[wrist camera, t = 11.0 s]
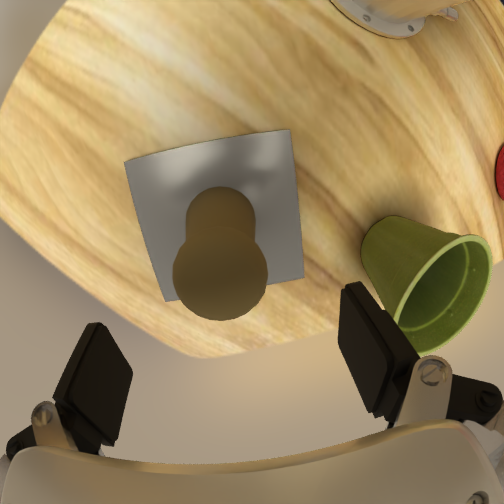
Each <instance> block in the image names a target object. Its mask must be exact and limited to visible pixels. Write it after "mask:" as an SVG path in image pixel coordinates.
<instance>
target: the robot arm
mask: <svg viewBox="0 0 504 504" xmlns="http://www.w3.org/2000/svg"><path fill="white" fill-rule="evenodd" d="M468 1H472V0H331V2H332V3H333V4H334V5H335V6H336V7H337V8H338V9H339V10H340V11H341V12H343V13H344V14H345V15H346V16H347V17H348V18H350V19H351V20H353V21H354V22H355V23H357V24H358V25H360V26H362V27H364V28H365V29H367V30H369V31H371V32H374V33H376V34H378V35H381V36H385V37H388V38H396V39H400V38H407V37H410V36H413V35H415V34H417V33H419V32H420V30H421V29H422V28H423V26H424V23H425V17H426V16H428V15H434V16H437V15H440V16H441V17H443V18H446V19H448V20H450V21H453V22H454V21H456V20H457V19H458V13H457V11H456V10H455V9H453V8H451V7H450V6H454V5H457V4H461V3H464V2H468ZM338 345H339V348H340V350H341V352H342V355H343V357H344V359H345V361H346V364H347V366H348V368H349V370H350V372H351V375H352V377H353V379H354V381H355V384H356V386H357V388H358V391H359V393H360V395H361V398H362V400H363V402H364V405H365V407H366V409H367V411H368V413H371V412H372V413H373V415H374V417H375V418H378V417H381V416H383V415H384V418H385V420H386V421H388V423H387V426H386V428H385V430H384V431H381V432H378V433H375V434H371V435H368V436H365V437H362V438H359V439H356V440H352V441H349V442H345V443H342V444H338V445H334V446H330V447H326V448H322V449H318V450H314V451H310V452H305V453H301V454H295V455H290V456H285V457H278V458H272V459H265V460H257V461H248V462H237V463H223V464H165V463H150V462H139V461H130V460H122V459H115V458H110V457H105V455H104V453H103V452H102V450H101V448H100V447H101V444H103V445H106V446H112V447H114V443H115V441H116V440H117V439H118V435H119V431H120V426H121V422H122V417H123V413H124V409H125V404H126V400H127V396H128V392H129V388H130V384H131V381H132V376H133V371H132V368H131V367H130V365H129V363H128V362H127V360H126V359H125V357H124V356H123V354H122V352H121V351H120V349H119V347H118V346H117V344H116V342H115V341H114V339H113V337H112V335H111V334H110V332H109V330H108V328H107V327H106V326H104V325H103V324H102V323H100V322H97V323H89V324H88V325H87V326H86V328H85V330H84V332H83V333H82V335H81V337H80V339H79V341H78V343H77V345H76V347H75V349H74V351H73V353H72V355H71V357H70V359H69V361H68V363H67V365H66V368H65V370H64V372H63V374H62V376H61V378H60V381H59V383H58V385H57V387H56V390H55V392H54V394H53V397H52V398H53V399H54V400H55V401H56V402H55V405H54V404H53V403H52V402H50V401H43V402H41V403H39V404H38V405H37V406H36V407H35V408H34V410H33V412H32V415H31V423H32V425H30V426H29V427H27V428H26V429H24V430H23V431H21V432H20V433H18V434H16V435H15V436H14V437H12V438H11V439H10V440H9V441H8V443H7V447H6V454H7V455H5V454H4V455H3V456H2V457H1V459H0V504H504V400H503V398H502V394H501V392H500V391H499V389H498V388H497V387H496V386H495V385H493V384H491V383H487V382H483V381H479V380H475V379H471V378H466V377H462V376H458V375H455V374H452V369H451V366H450V365H449V363H448V362H447V361H446V360H445V359H443V358H442V357H438V356H433V355H429V356H424V357H422V358H420V356H419V355H418V353H417V352H416V350H415V349H414V347H413V346H412V345H411V343H410V342H409V340H408V339H407V337H406V336H405V335H404V333H403V332H402V330H401V329H400V328H399V326H398V325H397V323H396V322H395V321H394V319H393V318H392V317H391V315H390V314H389V313H388V312H387V311H386V310H382V309H381V308H380V306H379V305H378V303H377V302H376V301H375V299H374V298H373V297H372V295H371V294H370V293H369V291H368V290H367V289H366V287H365V286H364V285H363V284H362V282H360V281H359V282H354V283H350V284H346V285H345V289H342V290H341V299H340V316H339V330H338Z"/></svg>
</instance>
